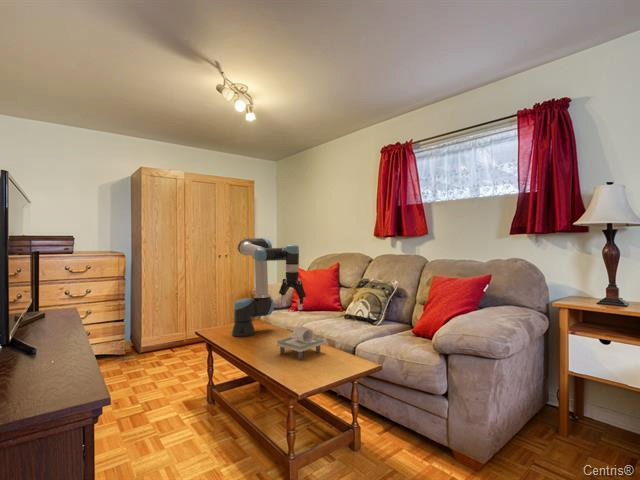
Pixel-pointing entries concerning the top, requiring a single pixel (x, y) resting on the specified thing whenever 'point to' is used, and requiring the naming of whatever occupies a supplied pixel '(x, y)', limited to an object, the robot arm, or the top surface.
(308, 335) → the mug
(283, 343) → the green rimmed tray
